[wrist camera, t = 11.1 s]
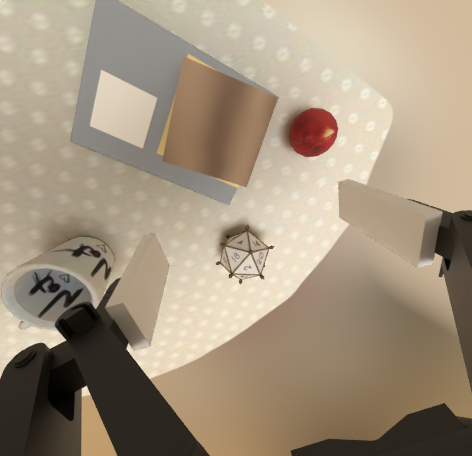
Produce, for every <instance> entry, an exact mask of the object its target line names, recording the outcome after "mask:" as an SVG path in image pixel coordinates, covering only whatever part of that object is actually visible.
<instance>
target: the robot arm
mask: <svg viewBox="0 0 472 456" xmlns="http://www.w3.org/2000/svg"><path fill="white" fill-rule="evenodd" d="M338 189H339V217H340V218H341V219H343V220H344V221H346V222H347V223H349V224H350V225H352V226H354V227H355V228H357V229H358V230H360V231H362V232H363V233H365V234H366V235H367V236H369V237H370V238H372V239H374V240H375V241H377V242H378V243H380V244H381V245H383V246H384V247H386V248H387V249H389V250H391V251H392V252H394V253H395V254H397V255H398V256H400V257H401V258H403V259H404V260H406V261H408V262H409V263H411V264H412V265H414V266H415V267H417V268H420V267H423V266H427V265H430V264H433V260H434V254H435V253H437V254H439V255H441V256H442V257H443V259H442V264H441V268H440V273H439V277H442V275H443V274H444V277H445V281H446V285H447V289H448V293H449V298H450V302H451V307H452V311H453V315H454V319H455V323H456V328H457V332H458V336H459V340H460V344H461V349H462V353H463V357H464V361H465V365H466V370H467V374H468V378H469V382H470V387H471V391H472V211H470V210H468V211H458V212H455V213H450V212H447V211H444V210H441V209H439V208H436V207H433V206H429V205H427V204H424V203H423V204H422V203H421V202H418V201H415V200H411V199H405V198H402V197H399V196H396V195H393V194H390V193H387V192H385V191H382V190H379V189H376V188H373V187H370V186H367V185H364V184H361V183H359V182H356V181H353V180H350V179H347V180H344V181H340V182H338ZM169 266H170V265H169V263H168V261H167V259H166V256H165V254H164V252H163V250H162V248H161V245H160V243H159V241H158V239H157V237H156V234H155V233H153V234H149V235H146V236H144V237H143V239H142V240H141V242H140V244H139V246H138V248H137V250H136V251H135V253H134V255H133V257H132V259H131V261H130V262H129V264H128V266H127V268H126V270H125V272H124V273H123V275H122V277H121V278H119V279H116V280H115V281H114V282H113V283H112V284H111V285H110V286H109V288H108V290H107V291H106V294H105V295H104V296H103V298H102V300H101V301H100V303H99V305H98V307H97V308H96V309H95V307H94V306H93V305H92V303H90V302H82V303H79V304H76V305H75V306H73V307H71V308H69V309H68V310H67V311H65V312H64V313H63V314H62V315H61V316H60V317H59V318H58V319H57V321H56V322H55V327H56V329H57V330H58V331H59V332H60V333H61V334H62V335H63V337H64V338H65V339H66V340H67V341H65V342H63V343H61V344H59V345H57V346H55V347H53V348H51V349H49V348H48V347H47V346H46V345H45V344H44V343H37V344H34V345H32V346H30V347H28V348H26V349H25V350H22V351H21V352H20V353H18V355H16V356H15V357H14V358H13V359H12V360H11V361H10V362H9V363H8V364H7V366H6V367H5V369H4V371H3V373H2V376H1V379H0V456H81V394H82V388H83V387H85V386H86V385H87V387H88V390H89V392H90V394H91V396H92V399H93V401H94V403H95V405H96V408H97V410H98V412H99V415H100V417H101V419H102V421H103V424H104V426H105V428H106V431H107V433H108V435H109V437H110V440H111V442H112V444H113V446H114V449H115V451H116V453H117V456H210V455H209V454H208V453H207V452H206V450H205V449H204V448H203V447H202V445H201V444H200V443H199V442H198V441H197V440H196V439H195V438H194V436H193V435H192V434H191V432H190V431H189V430H188V428H187V427H186V426H185V425H184V423H183V422H182V421H181V419H180V418H179V417H178V416H177V414H176V413H175V412H174V410H173V409H172V408H171V406H170V405H169V404H168V403H167V402H166V400H165V399H164V398H163V396H162V395H161V394H160V392H159V391H158V390H157V389H156V387H155V386H154V384H153V383H152V382H151V381H150V379H149V378H148V377H147V375H146V374H145V373H144V372H143V370H142V369H141V368H140V366H139V365H138V364H137V362H136V361H135V360H134V359H133V357H132V356H131V355H130V353H129V352H128V351H127V350H126V348H127V345H128V343H129V344H130V346H131V347H132V348H133V350H134V351H135V350H138V349H142V348H145V347H149V346H150V345H151V341H152V336H153V332H154V328H155V324H156V320H157V316H158V311H159V307H160V303H161V299H162V295H163V291H164V286H165V282H166V278H167V274H168V270H169ZM291 454H292V456H472V419H470V418H464V417H458V416H455V415H454V414H453V412H452V411H451V410H450V409H449V408H448V407H447V406H446V404H445V403H444V404H440V405H437V406H434V407H431V408H428V409H424V410H421V411H418V412H415V413H411V414H408V415H406V416H405V417H404V418H403V419H402V420H400V421H399V422H398V423H397V424H396V425H395V426H393V427H392V428H391V429H390V430H389V431H387V432H386V433H385V434H384V435H383V436H382V437H380V438H379V439H377V440H375V441H362V440H341V439H327V440H324V441H321V442H317V443H314V444H311V445H308V446H305V447H302V448H298V449H295V450H292V451H291Z"/></svg>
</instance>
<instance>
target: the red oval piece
mask: <svg viewBox="0 0 472 456" xmlns="http://www.w3.org/2000/svg"><path fill="white" fill-rule="evenodd" d="M337 132H338V127H337V123H336V120H335V118H334V117H333V116H332V114H331V113H329V112H328V111H326V110H324V109H315V108H311V109H309V110H307V111H304V112H302V113H301V114H300V115H299V116H298V117H297V118H296V119H295V120H294V122H293V124H292V126H291V129H290V136H289V137H290V142H291V145H292V147H293V148H294V150H295V151H296V152H297V153H299V154H301V155H303V156H305V157H313V156H318V155H320V154H322V153H324V152H326V151H327V150H328V149H329V148H330V147H331V146H332V145H333V144H334V141H335V139H336V137H337Z"/></svg>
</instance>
